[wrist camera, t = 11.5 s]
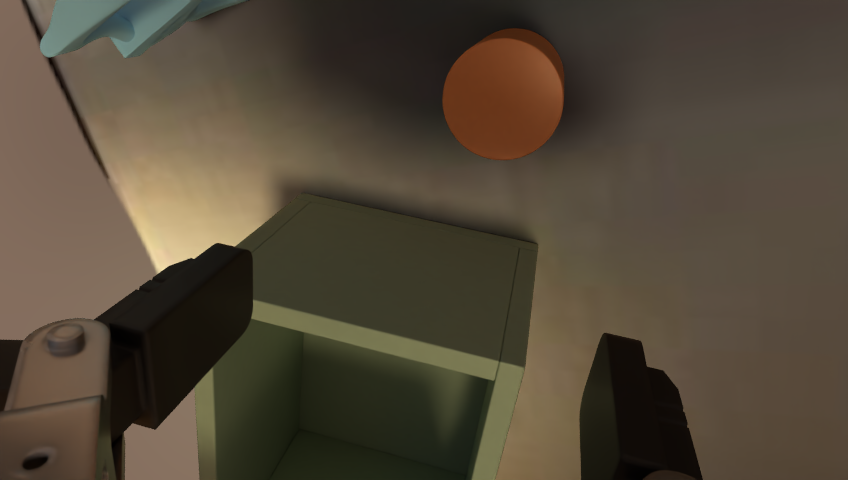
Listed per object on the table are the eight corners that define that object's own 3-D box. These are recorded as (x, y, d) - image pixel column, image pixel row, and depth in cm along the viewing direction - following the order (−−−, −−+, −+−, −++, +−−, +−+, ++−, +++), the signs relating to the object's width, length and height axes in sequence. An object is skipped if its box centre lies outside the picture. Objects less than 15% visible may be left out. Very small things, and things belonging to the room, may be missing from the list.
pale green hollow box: (301, 192, 31) (187, 283, 21) (538, 243, 29) (525, 368, 20) (291, 425, 38) (203, 567, 29) (479, 478, 36) (450, 648, 27)
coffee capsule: (471, 20, 25) (452, 28, 21) (575, 37, 25) (577, 49, 20) (454, 122, 27) (434, 148, 23) (551, 140, 27) (547, 171, 22)
